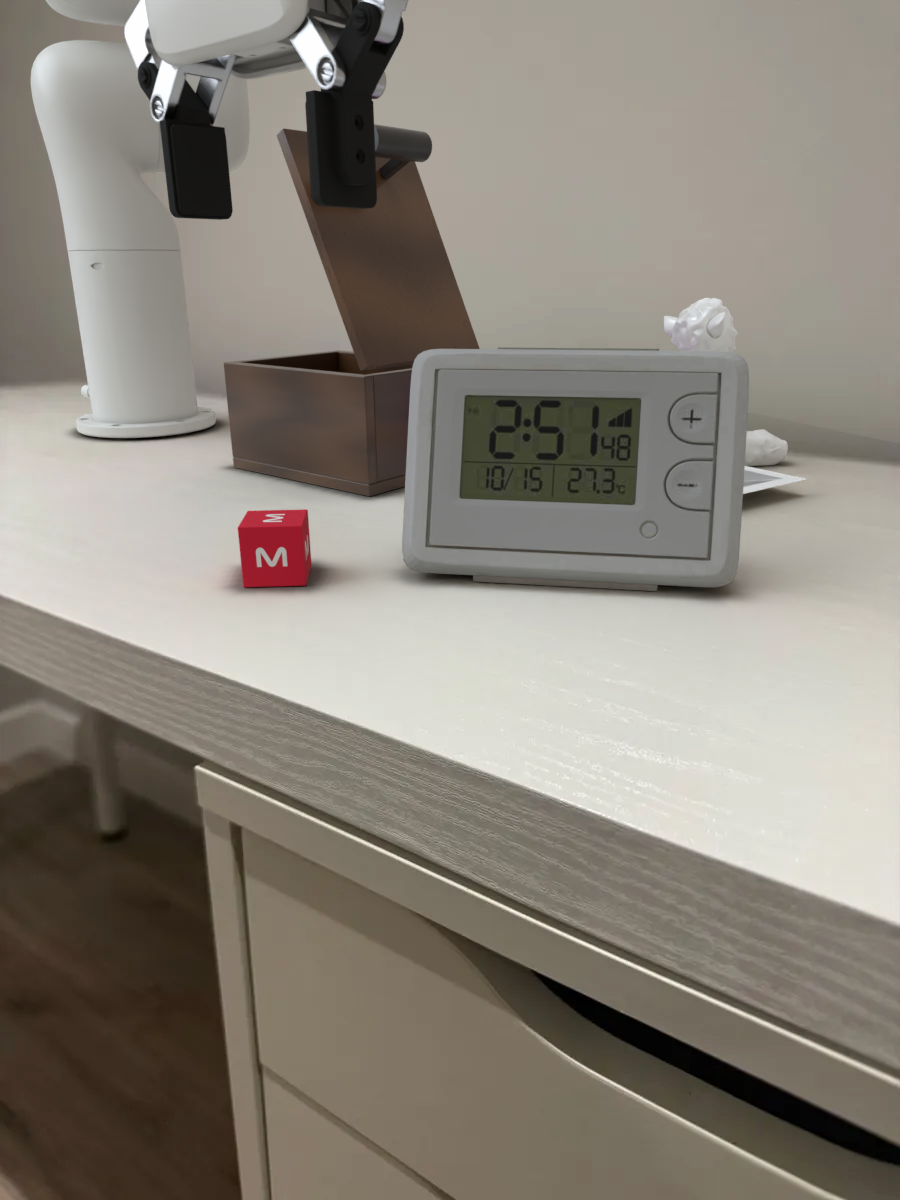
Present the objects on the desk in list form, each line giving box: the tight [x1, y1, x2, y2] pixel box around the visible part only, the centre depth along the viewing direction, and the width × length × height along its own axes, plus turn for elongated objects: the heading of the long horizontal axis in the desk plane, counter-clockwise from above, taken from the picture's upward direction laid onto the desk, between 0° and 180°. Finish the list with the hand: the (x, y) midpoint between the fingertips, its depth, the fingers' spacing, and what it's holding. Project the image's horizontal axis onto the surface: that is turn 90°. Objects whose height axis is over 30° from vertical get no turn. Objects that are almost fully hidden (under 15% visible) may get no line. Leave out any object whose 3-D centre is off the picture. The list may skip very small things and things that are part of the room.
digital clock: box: [401, 347, 750, 592], centre depth 42 cm, size 16×9×11 cm, turn 69°
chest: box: [223, 349, 413, 497], centre depth 66 cm, size 15×12×8 cm
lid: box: [276, 123, 481, 371], centre depth 58 cm, size 15×12×5 cm
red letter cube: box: [237, 508, 313, 588], centre depth 43 cm, size 3×3×3 cm
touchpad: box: [743, 466, 809, 495], centre depth 57 cm, size 8×15×2 cm, turn 125°
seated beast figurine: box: [663, 297, 789, 467], centre depth 66 cm, size 10×9×12 cm
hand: (268, 213), depth 39 cm, fingers open, 9 cm apart
